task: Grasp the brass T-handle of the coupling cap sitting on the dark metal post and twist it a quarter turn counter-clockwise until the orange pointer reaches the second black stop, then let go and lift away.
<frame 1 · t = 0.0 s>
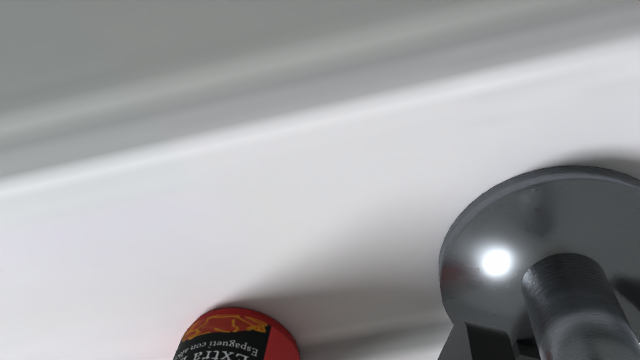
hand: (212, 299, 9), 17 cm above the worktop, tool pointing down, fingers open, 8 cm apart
canned food: (244, 347, 36), on the worktop
post: (555, 264, 30), on the worktop
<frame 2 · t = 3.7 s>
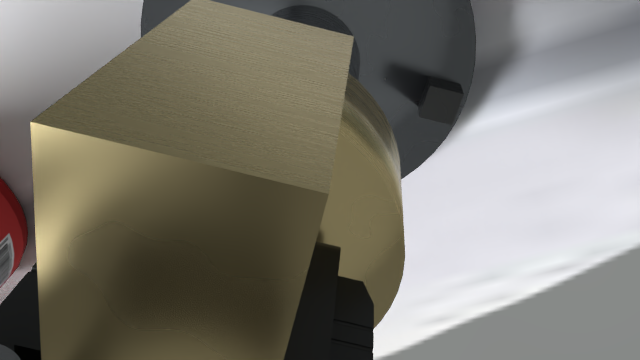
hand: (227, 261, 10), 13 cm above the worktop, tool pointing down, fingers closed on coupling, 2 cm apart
coupling: (217, 308, 10), point 14 cm above the worktop, hinge at 0.0°, touching gripper
post: (309, 49, 22), on the worktop
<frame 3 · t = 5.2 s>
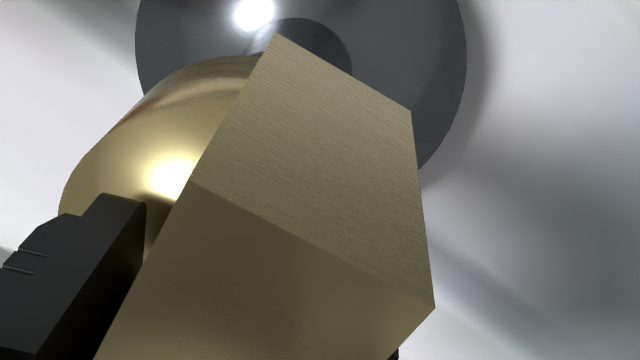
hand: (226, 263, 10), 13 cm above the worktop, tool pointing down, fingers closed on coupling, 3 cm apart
coupling: (196, 319, 10), point 14 cm above the worktop, hinge at 42.2°, touching gripper
post: (302, 60, 22), on the worktop
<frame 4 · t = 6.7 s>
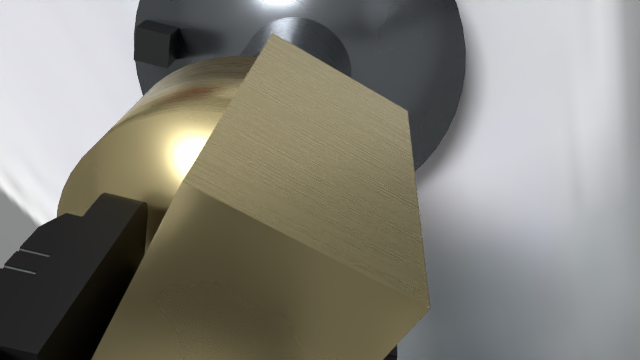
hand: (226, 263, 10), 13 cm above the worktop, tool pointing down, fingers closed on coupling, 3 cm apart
coupling: (195, 319, 10), point 14 cm above the worktop, hinge at 73.1°, touching gripper
post: (301, 60, 22), on the worktop
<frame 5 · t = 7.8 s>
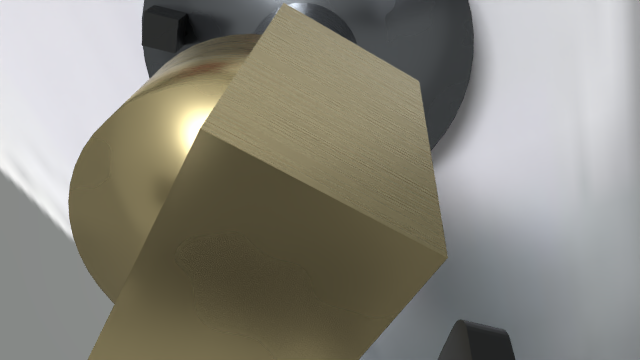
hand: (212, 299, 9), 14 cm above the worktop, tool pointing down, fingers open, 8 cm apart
coupling: (207, 295, 11), point 14 cm above the worktop, hinge at 73.8°
post: (308, 46, 22), on the worktop
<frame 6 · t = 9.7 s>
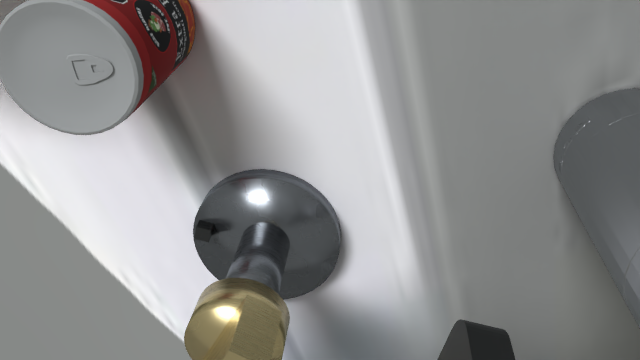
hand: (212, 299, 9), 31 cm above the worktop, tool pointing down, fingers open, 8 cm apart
canned food: (143, 19, 40), on the worktop
post: (268, 232, 47), on the worktop
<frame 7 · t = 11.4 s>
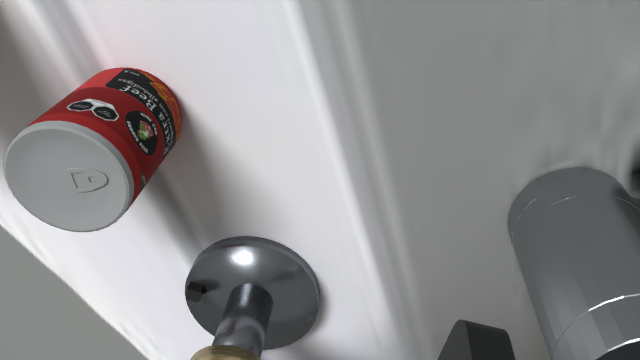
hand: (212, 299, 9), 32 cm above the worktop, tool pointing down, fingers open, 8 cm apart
canned food: (135, 110, 44), on the worktop
post: (254, 290, 52), on the worktop
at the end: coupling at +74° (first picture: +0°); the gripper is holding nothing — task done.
